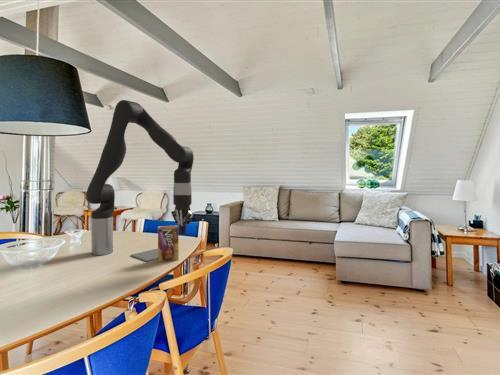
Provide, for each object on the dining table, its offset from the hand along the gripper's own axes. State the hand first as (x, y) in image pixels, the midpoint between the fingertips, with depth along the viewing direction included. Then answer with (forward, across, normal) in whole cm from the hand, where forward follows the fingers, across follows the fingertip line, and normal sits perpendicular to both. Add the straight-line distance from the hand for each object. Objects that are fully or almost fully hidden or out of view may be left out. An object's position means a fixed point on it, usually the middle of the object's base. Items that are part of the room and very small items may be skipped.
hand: (182, 233), depth 122 cm
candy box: (+13, -10, 0) cm, 17 cm away
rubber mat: (+13, -21, 0) cm, 25 cm away
